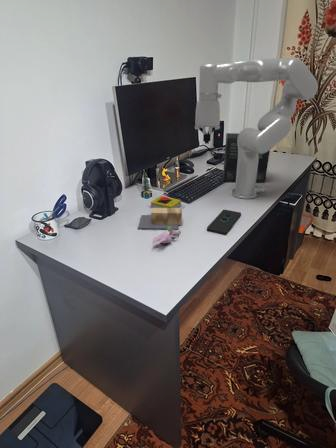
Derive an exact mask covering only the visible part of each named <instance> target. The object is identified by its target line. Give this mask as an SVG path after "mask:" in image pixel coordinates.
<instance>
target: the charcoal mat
mask: <svg viewBox="0 0 336 448" xmlns="http://www.w3.org/2000/svg"><path fill="white" fill-rule="evenodd" d="M169 226H171V227H170V228H171V229H172V230H173V229H174V230H175V231H179V226H180V225H175V224H152V221H151V214H141V216H140V220H139V222H138V226H137V230H147V231H148V230H149V231H151V230H152V231H154V230H155V231H159V230H161V231H162V230H164V231H168V230H167V228H168V227H169Z"/></svg>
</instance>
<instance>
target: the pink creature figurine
mask: <svg viewBox="0 0 336 448" xmlns="http://www.w3.org/2000/svg"><path fill="white" fill-rule="evenodd" d="M170 227H171V226H169V227H168V228H167V230H166V231H168V232H169V233H167V232H165V231H164V232H163V233H160V234H159V235H158V236H155V237H154V238H153V239H152V242H151V243H152V244H153V245H154V244H155V243H156V244H155V245H156V246H158V245H160V244H161V243H163V244H168V243H171V242H172V241H173V238H176V239H177V238H179V236H180V234H182V232H181V230H174V229H173V230H172V229H171V228H170Z"/></svg>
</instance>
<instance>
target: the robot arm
mask: <svg viewBox="0 0 336 448" xmlns="http://www.w3.org/2000/svg"><path fill="white" fill-rule="evenodd" d="M278 81H285V82H284V84H283V86H282V90H281V97H280V100H279V102H278V103H277V104H276V105H275V106H274V107H273V108H272V109H270V110H269V111H267V112H266V113H264V115H262V116H261V117H260V119H259V120H258V121H257V129H256V128H253V127H246V128H243V129H241V130H240V132H238V133H239V135H238V139H237V145H238V162H237V173H236V182H235V186H234V187H235V188H234V189H232V190H231V195H232V196H233V197H235V198H237V199H242V200H243V199H245V200H249V199H250V200H251V199H255V198H257V197H258V195H259V193H260V192H261V193H265V192H266V187H262V186H257V185H256V184H257V183H256V178H257V169H258V161H259V155H258V154H264V153H266V152H268V151H269V150H270V151H271V149H273V148H274V147H276V146H277V145H278V144H279V143H280V142H282V141H283V140H284V139H285V138H286V137H287V136H288V135H289V133H290V132H291V129H292V125H293V124H292V120H291V119H290V118H291V117H292V116H294V114H295V112H296V109H297V104H298V103H297V102H298V100H304V101H306V100H311V99H312V98H314V97H315V96H316V95H317V93H318V90H319V84H318V80H317V79H316V78H315V75H313V74H312V72H311V71H310V69H309V68H308V67H307V65H306V64H305V63H304V62H303V61H302V60H301V59H300V58H298V57H281V58H280V57H279V58H278V57H277V58H260V59H258V58H257V59H251V60H244V61H235V62H233V61H231V62H218V63H203V64H201V65H200V66H199V86H198V91H199V92H198V101H197V102H196V106H195V118H194V119H195V123H194V129H195V130H197V131H200V132H201V133H202V134H203V137H202V139H203V142H204V144H205V145H206V144H210V142H211V139H212V137H211V135H212V133H214V131H217V130H220V129H221V126H220V125H221V124H220V123H221V109H220V107H221V106H220V100H219V99H221V98H222V94H220V93H219V84H228V85H229V84H233V83H235V82H246V83H265V82H278ZM206 128H208V131H207V130H206Z"/></svg>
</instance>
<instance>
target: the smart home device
mask: <svg viewBox="0 0 336 448" xmlns="http://www.w3.org/2000/svg"><path fill="white" fill-rule="evenodd" d="M241 216H242V212H240V211H234V210H228V209H223V210H222V211H220V212H219V214H218V215H217V216H216V217H215V218H214V219H213V220H212V221H211V222H210V223H209V224H208V226H207V227H206V232H209V233H214V234H218V235H222V236H227V235H228V233H229V232H230V231H231V230H232V228H233V227H234V225H236V223H237V222H238V220H239V219H240V218H241Z"/></svg>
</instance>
